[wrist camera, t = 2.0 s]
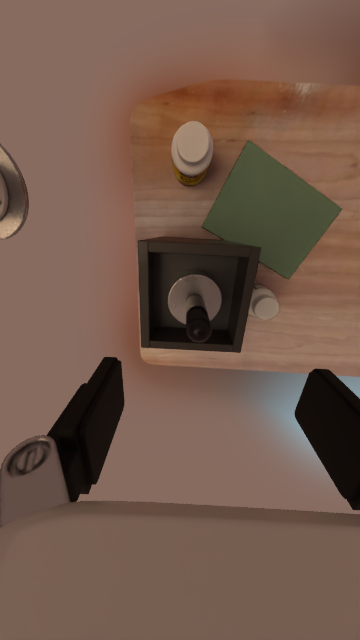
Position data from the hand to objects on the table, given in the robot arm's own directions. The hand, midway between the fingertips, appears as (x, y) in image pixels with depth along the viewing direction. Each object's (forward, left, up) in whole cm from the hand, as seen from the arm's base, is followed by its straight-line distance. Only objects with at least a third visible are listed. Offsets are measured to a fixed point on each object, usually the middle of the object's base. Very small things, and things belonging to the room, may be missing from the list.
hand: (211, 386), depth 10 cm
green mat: (+8, +15, -33) cm, 37 cm away
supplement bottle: (-9, +15, -33) cm, 37 cm away
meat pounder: (0, 0, -17) cm, 17 cm away
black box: (0, 0, -33) cm, 33 cm away
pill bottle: (+13, +2, -33) cm, 35 cm away
